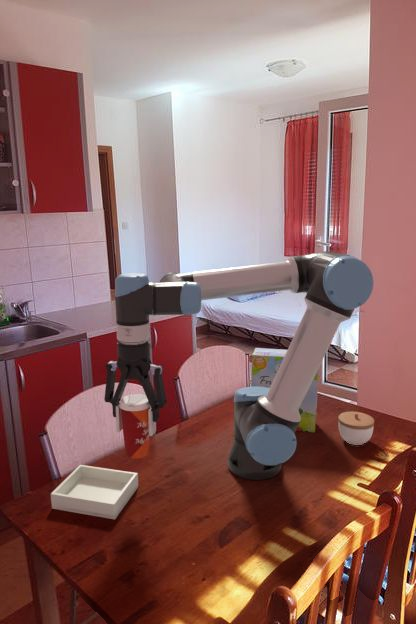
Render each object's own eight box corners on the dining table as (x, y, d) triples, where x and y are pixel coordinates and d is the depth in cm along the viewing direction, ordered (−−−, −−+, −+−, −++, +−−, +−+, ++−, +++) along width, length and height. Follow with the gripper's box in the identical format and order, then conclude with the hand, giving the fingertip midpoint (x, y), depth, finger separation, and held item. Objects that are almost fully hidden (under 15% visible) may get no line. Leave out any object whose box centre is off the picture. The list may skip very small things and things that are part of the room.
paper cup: (147, 462, 112) (145, 407, 109) (116, 459, 114) (113, 404, 111) (156, 446, 120) (155, 394, 117) (127, 443, 121) (125, 391, 118)
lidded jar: (377, 449, 145) (379, 421, 143) (341, 449, 145) (343, 421, 143) (366, 433, 155) (368, 406, 153) (333, 433, 155) (335, 406, 153)
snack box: (249, 427, 160) (250, 354, 154) (253, 416, 168) (253, 346, 163) (316, 434, 155) (319, 358, 150) (316, 422, 164) (319, 350, 158)
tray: (138, 486, 127) (137, 473, 126) (114, 519, 114) (113, 504, 113) (81, 477, 131) (80, 464, 130) (51, 508, 118) (50, 493, 117)
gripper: (85, 341, 110) (90, 433, 115) (170, 348, 105) (171, 443, 110) (100, 333, 117) (104, 420, 122) (180, 339, 112) (181, 429, 117)
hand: (136, 431), depth 116 cm, fingers closed on paper cup, 8 cm apart
